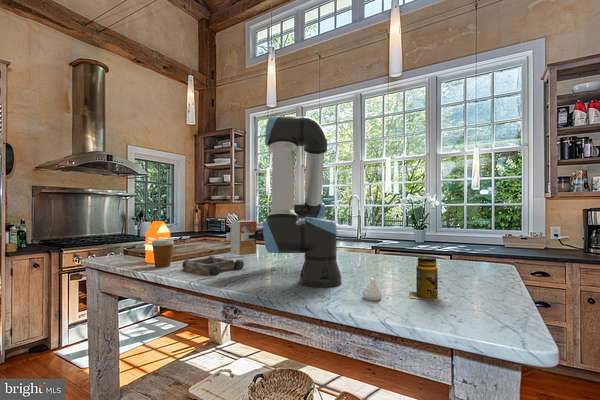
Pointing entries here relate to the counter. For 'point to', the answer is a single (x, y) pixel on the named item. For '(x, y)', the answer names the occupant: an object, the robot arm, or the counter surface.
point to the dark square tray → (211, 265)
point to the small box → (236, 231)
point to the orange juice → (155, 238)
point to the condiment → (426, 279)
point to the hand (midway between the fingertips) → (234, 236)
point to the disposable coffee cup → (162, 252)
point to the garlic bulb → (372, 290)
